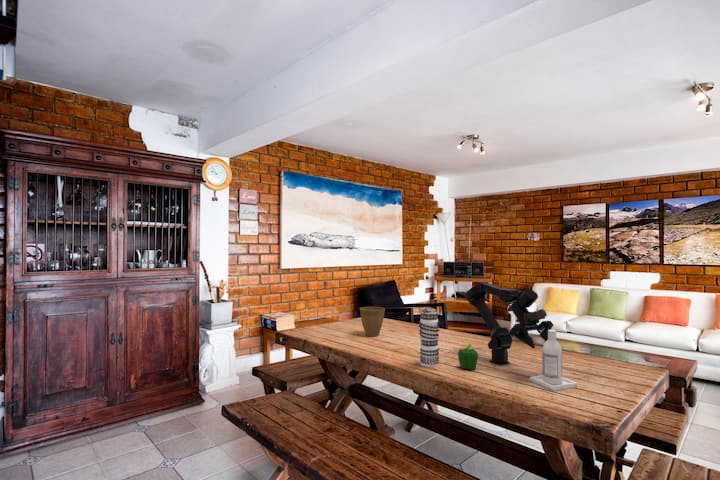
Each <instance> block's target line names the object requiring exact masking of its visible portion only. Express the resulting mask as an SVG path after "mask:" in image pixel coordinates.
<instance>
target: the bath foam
mask: <svg viewBox="0 0 720 480" xmlns="http://www.w3.org/2000/svg"><path fill="white" fill-rule="evenodd" d="M541 354H542V355H541V357H542V358H541V360H542V371H541V372H542V373H541V375H542V376H543V381H544V382H545V383H548V384H551V385H560V384H562V377H563V350H562V347H561V344H559V342H558V341H557V330H555V329H551V330H548V340H547V341H545V343H544V345H543V346H542V351H541Z"/></svg>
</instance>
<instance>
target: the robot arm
mask: <svg viewBox="0 0 720 480" xmlns="http://www.w3.org/2000/svg"><path fill="white" fill-rule="evenodd" d="M488 294H490V295H492V296H495V297H496V298H497V297H498V298H499V300H500V301H501V302H503V303H505V304H506V303H507V304H508V307H507V312H509V313H510V312H512V313H513V315H514V316H515V318H516V319H515V322H516V323H514V325H513V326H512V327H511V328H510V330H509V329H508V327H506V326H505V327H504V326H503V327H502V326H501V325H500V324H499V322H498V321H497V319H496V317H495V316H494V314H493V313H492V311H491V310H490V308H489V306H488V304H487V302H486V296H487V295H488ZM465 298H466V300H467V302H468V303H469V304H470V305H471V306H472V307H475V308H476V310H477V311H478V313H479V314H480V316H481V318H482V320H483V322H484V324H485V325H486V326H487V328H488V329H489V331H490V336H489V337H490V341H489V342H488V343H487V346H488V349H490V350H491V359H489V360H488V361H490V362H491V363H494V364H496V365H506V364H510V363H511V362H510V361H509V352H508V350H509V349H511V347H512V345H513V338H514V339H518V340H519V341H521V342H523V343H524V344H526V345H527V346H528V347H530V348H531V349H535V348H536V346H535V344H534V342H533V340H532V338H531V336H530V335H529V332H531V331H536V332H537V333H539V336H540V337H541V338H542V339H543V340H544V341H545V342H546V341H547V340H548V330H553V327H554V323H552V321H551V320H545V319H546V317H547V316H548V315H547V312H546V310H545V309H544V308H541V309H538V310H536V311H530V310H529V309H528V308H530V307H531V306H532V305H533V304H534V303H535V302H536V301H537V300H538V298H539V295H538V293H537V291H535V290H533V289H531V288H529V286H524V287H522V290H521V291H519V289H517V288H504V287H500V286H498V285H495V284H492V283H489V282H487V281H484V282H483V281H480V282H478V283H476V285H474V286H472V287H471V288H470V289H468V290H466V293H465ZM510 303H511V304H510ZM540 320H542V321H541V322H540Z"/></svg>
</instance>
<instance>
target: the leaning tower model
mask: <svg viewBox="0 0 720 480" xmlns="http://www.w3.org/2000/svg"><path fill="white" fill-rule="evenodd" d="M438 313H439V311H437V309H436V308H435V307H424V308H422V310H421V311H420V320H419V321H418V324H419V326H418V327H419V339H420V348H419V350H420V352H419V354H420V355H419V358H420V359H419V361H420V363H419V365H420V366H422V367H427V368H436V367H438V366H439V365H440V363H439V362H440V355H439V354H440V352H439V351H440V348H439V343H438V342H439V338H440V337H439V336H440V334H439V332H440V330H439V328H440V326H439V324H440V323H441V322H440V321H439V317H438Z"/></svg>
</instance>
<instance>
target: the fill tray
mask: <svg viewBox="0 0 720 480" xmlns="http://www.w3.org/2000/svg"><path fill="white" fill-rule="evenodd" d="M529 382H532V383H534V384H535V385H538V386H541V387H543V388H545V389H547V390H549V391H552V392H557V391H562V390H569V389H573V388H574V389H575V388H578V383H577V382H576V381H573V380H571V379H568V378H565V377H564V376H562V384H560V385H551V384H548V383H545V382H544V381H543V376H542V374H540V375H533V376H530V377H529Z"/></svg>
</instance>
